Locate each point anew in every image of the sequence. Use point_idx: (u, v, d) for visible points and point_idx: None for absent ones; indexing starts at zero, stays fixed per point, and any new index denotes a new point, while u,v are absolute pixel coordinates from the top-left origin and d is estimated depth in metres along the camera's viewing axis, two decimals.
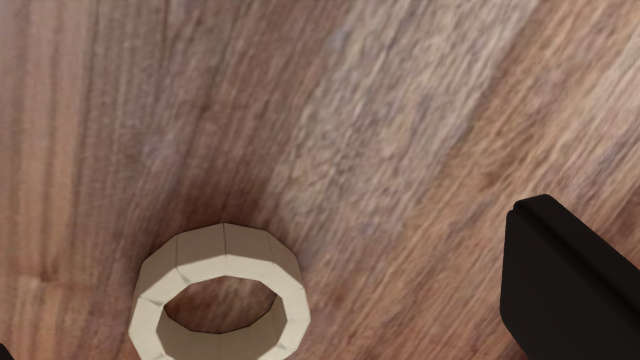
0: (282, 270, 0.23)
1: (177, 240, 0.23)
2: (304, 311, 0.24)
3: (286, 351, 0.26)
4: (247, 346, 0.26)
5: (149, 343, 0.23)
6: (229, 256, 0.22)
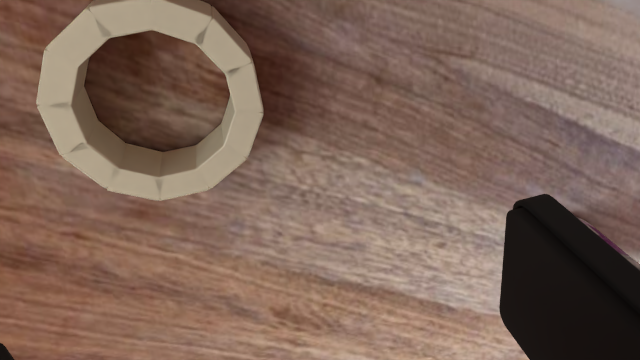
0: (235, 167, 0.22)
1: (248, 49, 0.21)
2: (173, 193, 0.22)
3: (106, 180, 0.21)
4: (91, 128, 0.21)
5: (130, 20, 0.18)
6: (259, 115, 0.21)
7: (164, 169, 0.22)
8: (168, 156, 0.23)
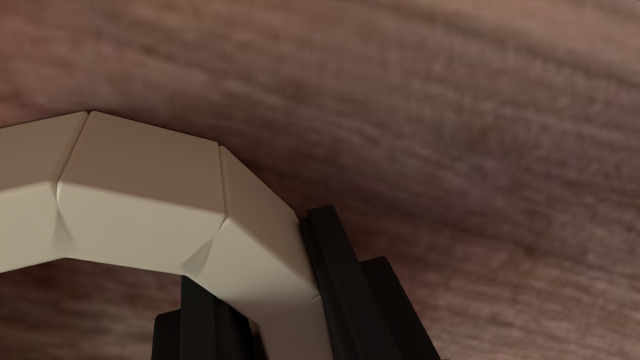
0: None
1: None
2: None
3: None
4: None
5: (1, 242, 0.06)
6: None
7: None
8: None
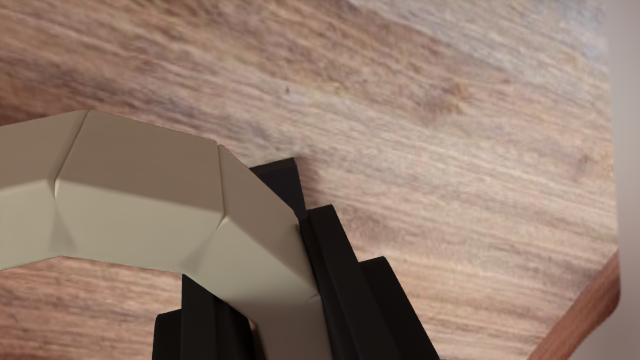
0: None
1: (299, 229, 0.10)
2: None
3: None
4: None
5: None
6: None
7: None
8: None
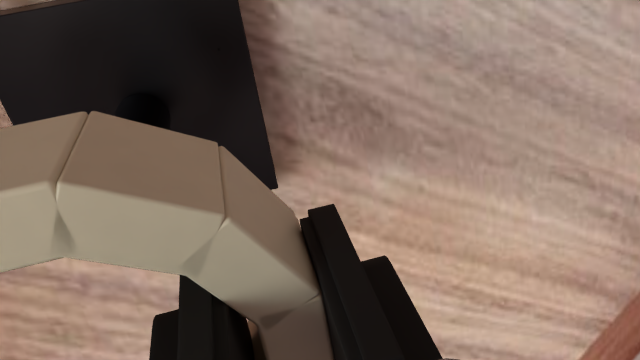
0: None
1: (300, 230, 0.10)
2: None
3: None
4: None
5: (1, 243, 0.06)
6: None
7: None
8: None
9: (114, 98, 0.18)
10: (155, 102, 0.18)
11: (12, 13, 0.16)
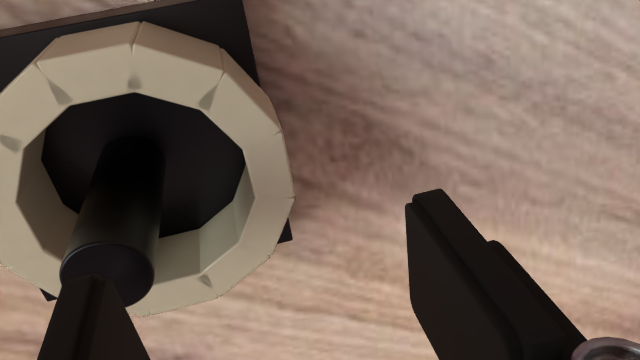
0: (255, 268, 0.16)
1: (272, 106, 0.15)
2: (168, 305, 0.16)
3: None
4: (50, 222, 0.15)
5: (101, 79, 0.12)
6: (289, 201, 0.15)
7: (156, 272, 0.16)
8: (161, 248, 0.17)
9: (97, 143, 0.15)
10: (146, 148, 0.15)
11: None
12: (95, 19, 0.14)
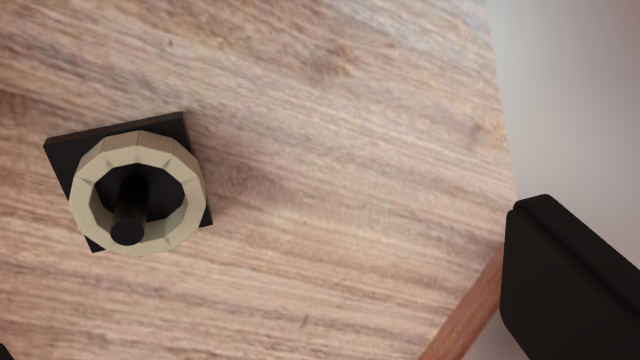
0: (189, 235, 0.35)
1: (197, 163, 0.34)
2: (150, 252, 0.35)
3: (108, 245, 0.34)
4: (99, 213, 0.34)
5: (124, 158, 0.31)
6: (203, 205, 0.34)
7: (144, 237, 0.35)
8: (147, 227, 0.36)
9: (119, 179, 0.34)
10: (141, 181, 0.34)
11: (68, 140, 0.32)
12: (120, 129, 0.33)
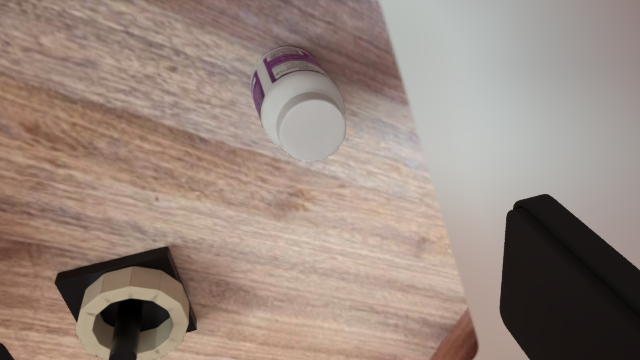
0: (175, 346, 0.42)
1: (181, 288, 0.42)
2: None
3: (108, 358, 0.41)
4: (101, 332, 0.41)
5: (120, 296, 0.38)
6: (186, 324, 0.41)
7: (139, 348, 0.42)
8: (141, 336, 0.43)
9: (117, 302, 0.42)
10: (135, 304, 0.41)
11: (75, 277, 0.40)
12: (117, 266, 0.40)
